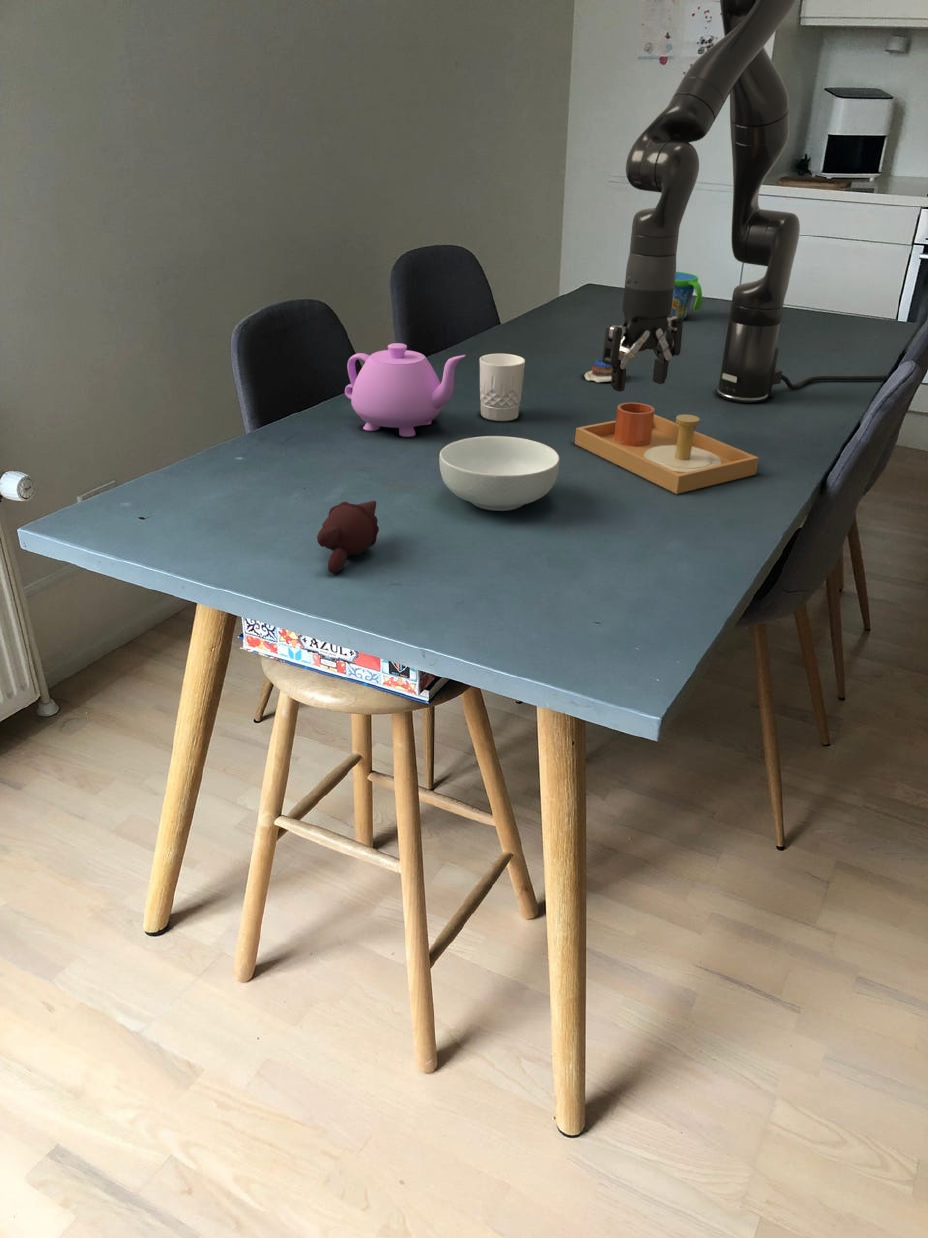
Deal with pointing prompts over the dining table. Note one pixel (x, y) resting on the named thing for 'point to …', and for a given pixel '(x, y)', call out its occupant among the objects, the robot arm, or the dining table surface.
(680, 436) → the round base post stand
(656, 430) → the serving tray
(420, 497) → the dining table surface
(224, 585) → the dining table surface
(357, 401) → the teapot
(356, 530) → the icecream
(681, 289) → the snack cup
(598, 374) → the dessert
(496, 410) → the white cup
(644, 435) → the terracotta cup
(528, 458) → the cereal bowl
